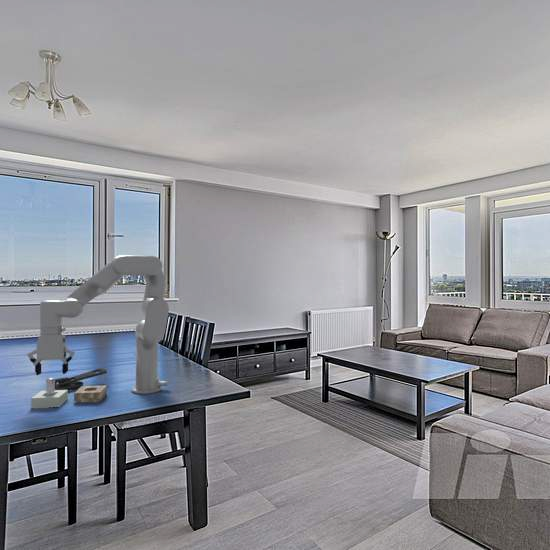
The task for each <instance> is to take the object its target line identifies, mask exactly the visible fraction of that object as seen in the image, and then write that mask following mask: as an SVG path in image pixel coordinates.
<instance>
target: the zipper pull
mask: <svg viewBox="0 0 550 550" xmlns="http://www.w3.org/2000/svg"><path fill="white" fill-rule="evenodd" d="M107 373H108V371H107V370H106V369H105V368H101V367H100V368H96V369H94V370H90V371H87V372H84V373H80V374H78V375H77V374H76V375H74V376H70V377H67V376H65V377H60V378H55V390H68V391H69V392H71V391H70V390H74V391H76V390H75V389H79V388H80V387H82V386H84V382H83V380H86V379H91V378H94V377H97V376H102V375H104V374H107Z"/></svg>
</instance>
